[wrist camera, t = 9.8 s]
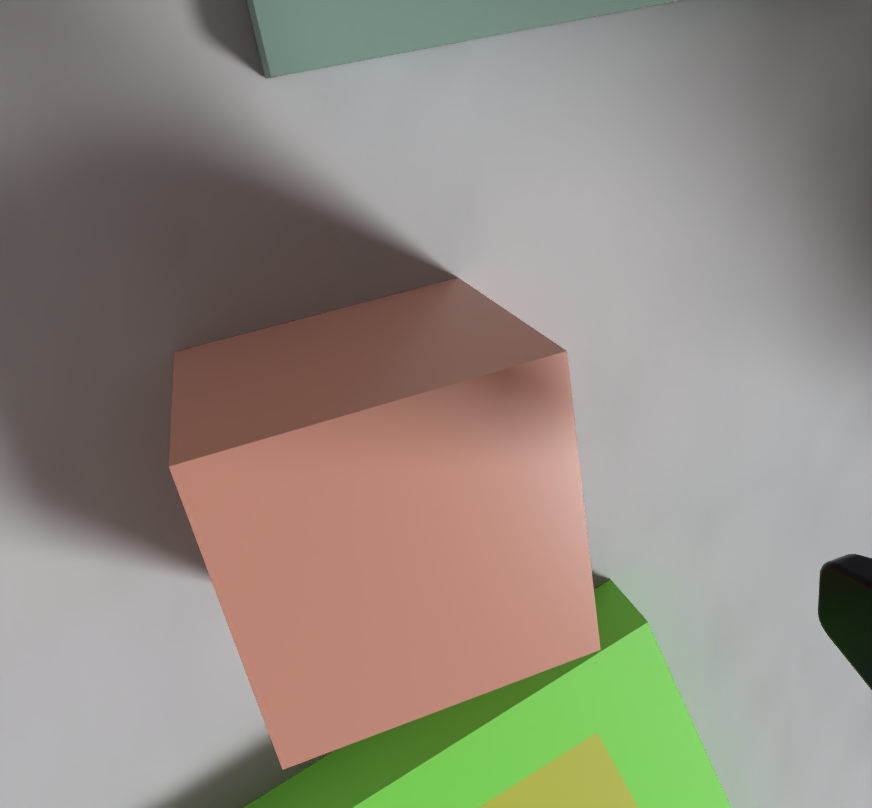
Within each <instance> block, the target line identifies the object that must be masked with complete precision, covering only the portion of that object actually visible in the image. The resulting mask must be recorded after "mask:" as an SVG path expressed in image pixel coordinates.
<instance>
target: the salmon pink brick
mask: <svg viewBox="0 0 872 808" xmlns="http://www.w3.org/2000/svg"><path fill="white" fill-rule="evenodd" d="M169 469H170V471H171V474H172V477H173V479H174V482H175V485H176V487H177V490H178V493H179V495H180V498H181V501H182V503H183V506H184V509H185V511H186V514H187V517H188V519H189V522H190V525H191V527H192V530H193V533H194V535H195V538H196V541H197V543H198V546H199V549H200V551H201V554H202V557H203V559H204V562H205V565H206V567H207V570H208V573H209V575H210V578H211V581H212V583H213V586H214V589H215V591H216V594H217V597H218V599H219V602H220V605H221V607H222V610H223V613H224V615H225V618H226V621H227V623H228V626H229V629H230V631H231V634H232V637H233V639H234V642H235V645H236V647H237V650H238V653H239V655H240V658H241V661H242V663H243V666H244V669H245V671H246V674H247V677H248V679H249V682H250V685H251V687H252V690H253V693H254V695H255V698H256V701H257V703H258V706H259V709H260V711H261V714H262V717H263V719H264V722H265V725H266V727H267V730H268V733H269V735H270V738H271V741H272V743H273V746H274V749H275V751H276V754H277V757H278V759H279V762H280V765H281V767H282V770H284V769H286V768H289V767H292V766H294V765H297V764H300V763H302V762H305V761H307V760H310V759H313V758H315V757H318V756H321V755H323V754H326V753H329V752H331V751H334V750H337V749H339V748H342V747H345V746H347V745H350V744H352V743H355V742H358V741H360V740H363V739H366V738H368V737H371V736H374V735H376V734H379V733H382V732H384V731H387V730H390V729H392V728H395V727H397V726H400V725H403V724H405V723H408V722H411V721H413V720H416V719H419V718H421V717H424V716H427V715H429V714H432V713H435V712H437V711H440V710H442V709H445V708H448V707H450V706H453V705H456V704H458V703H461V702H464V701H466V700H469V699H472V698H474V697H477V696H480V695H482V694H485V693H487V692H490V691H493V690H495V689H498V688H501V687H503V686H506V685H509V684H511V683H514V682H517V681H519V680H522V679H525V678H527V677H530V676H532V675H535V674H538V673H540V672H543V671H546V670H548V669H551V668H554V667H556V666H559V665H562V664H564V663H567V662H570V661H572V660H575V659H577V658H580V657H583V656H585V655H588V654H591V653H593V652H596V651H599V650H601V649H600V640H599V631H598V622H597V613H596V605H595V596H594V587H593V578H592V569H591V561H590V552H589V543H588V534H587V525H586V516H585V508H584V499H583V490H582V481H581V472H580V464H579V455H578V446H577V437H576V428H575V419H574V411H573V402H572V393H571V384H570V375H569V366H568V358H567V351H566V350H564V349H563V348H561V347H560V346H559V345H557V344H556V343H554V342H553V341H551V340H550V339H548V338H547V337H545V336H544V335H542V334H541V333H539V332H538V331H536V330H535V329H533V328H532V327H530V326H529V325H527V324H526V323H524V322H523V321H521V320H520V319H518V318H517V317H516V316H514V315H513V314H511V313H510V312H508V311H507V310H505V309H504V308H502V307H501V306H499V305H498V304H496V303H495V302H493V301H492V300H490V299H489V298H487V297H486V296H484V295H483V294H481V293H480V292H478V291H477V290H476V289H474V288H473V287H471V286H470V285H468V284H467V283H465V282H464V281H462V280H461V279H459V278H455V279H451V280H447V281H443V282H440V283H436V284H432V285H428V286H424V287H421V288H417V289H413V290H409V291H405V292H401V293H398V294H394V295H390V296H386V297H382V298H379V299H375V300H371V301H367V302H363V303H360V304H356V305H352V306H348V307H344V308H340V309H337V310H333V311H329V312H325V313H321V314H318V315H314V316H310V317H306V318H302V319H299V320H295V321H291V322H287V323H283V324H280V325H276V326H272V327H268V328H264V329H260V330H257V331H253V332H249V333H245V334H241V335H238V336H234V337H230V338H226V339H222V340H219V341H215V342H211V343H207V344H203V345H199V346H196V347H192V348H188V349H184V350H180V351H177V352H174V364H173V385H172V406H171V428H170V449H169Z"/></svg>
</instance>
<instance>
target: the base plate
mask: <svg viewBox="0 0 872 808" xmlns="http://www.w3.org/2000/svg"><path fill="white" fill-rule="evenodd" d="M246 1H247V5H248V9H249V14H250V18H251V22H252V26H253V30H254V34H255V38H256V42H257V46H258V50H259V54H260V59H261V63H262V67H263V71H264V75H265V79H266V78H271V77H276V76H282V75H287V74H292V73H298V72H303V71H308V70H313V69H319V68H324V67H329V66H335V65H340V64H345V63H351V62H356V61H361V60H367V59H372V58H377V57H382V56H388V55H393V54H398V53H404V52H409V51H414V50H420V49H425V48H430V47H436V46H441V45H446V44H452V43H457V42H462V41H467V40H473V39H478V38H483V37H489V36H494V35H499V34H505V33H510V32H515V31H521V30H526V29H531V28H536V27H542V26H547V25H552V24H558V23H563V22H568V21H574V20H579V19H584V18H590V17H595V16H600V15H605V14H611V13H616V12H621V11H627V10H632V9H637V8H643V7H648V6H653V5H659V4H664V3H669V2H674V1H680V0H246Z"/></svg>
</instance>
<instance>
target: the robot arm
mask: <svg viewBox="0 0 872 808" xmlns="http://www.w3.org/2000/svg"><path fill="white" fill-rule="evenodd" d="M818 615H819V620H820V622H821V625H822V627H823V629H824V631H825V632H826V633H827V635H828V636H829V637H830V639H831V640H832V641H833V642H834V644H835V645H836V646H837V647H838V649H839V650H840V651H841V652H842V654H843V655H844V656H845V657H846V659H847V660H848V661H849V662H850V664H851V665H852V666H853V667H854V669H855V670H856V671H857V672H858V673H859V675H860V676H861V677H862V678H863V680H864V681H865V682H866V683H867V685H868V686H869V687H870V688H871V690H872V558H868V557H865V556H861V555H857V554H849V555H845V556H842V557H840V558H837V559H834V560H832V561H829V562H827V563H825V564H824V565H823V566H822V568H821V570H820V581H819V601H818Z"/></svg>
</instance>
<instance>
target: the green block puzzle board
mask: <svg viewBox="0 0 872 808" xmlns="http://www.w3.org/2000/svg"><path fill="white" fill-rule="evenodd" d="M594 596H595V605H596V613H597V622H598V631H599V640H600V649H601V650H599V651H596V652H593V653H591V654H588V655H585V656H583V657H580V658H577V659H575V660H572V661H570V662H567V663H564V664H562V665H559V666H556V667H554V668H551V669H548V670H546V671H543V672H540V673H538V674H535V675H532V676H530V677H527V678H525V679H522V680H519V681H517V682H514V683H511V684H509V685H506V686H503V687H501V688H498V689H495V690H493V691H490V692H487V693H485V694H482V695H480V696H477V697H474V698H472V699H469V700H466V701H464V702H461V703H458V704H456V705H453V706H450V707H448V708H445V709H442V710H440V711H437V712H435V713H432V714H429V715H427V716H424V717H421V718H419V719H416V720H413V721H411V722H408V723H405V724H403V725H400V726H397V727H395V728H392V729H390V730H387V731H384V732H382V733H379V734H376V735H374V736H371V737H368V738H366V739H363V740H360V741H358V742H355V743H352V744H350V745H347V746H345V747H342V748H339V749H337V750H335V751H333V752H332V753H330V754H328V755H327V756H325V757H324V758H322V759H320V760H319V761H317V762H316V763H314V764H312V765H311V766H309V767H308V768H306V769H304V770H303V771H301V772H300V773H298V774H296V775H295V776H293V777H291V778H290V779H288V780H287V781H285V782H283V783H282V784H280V785H279V786H277V787H275V788H274V789H272V790H271V791H269V792H267V793H266V794H264V795H263V796H261V797H259V798H258V799H256V800H255V801H253V802H251V803H250V804H248V805H246V806H245V807H243V808H731V806H730V804H729V802H728V799H727V797H726V795H725V793H724V790H723V788H722V786H721V784H720V782H719V779H718V777H717V775H716V773H715V770H714V768H713V766H712V764H711V762H710V759H709V757H708V755H707V753H706V750H705V748H704V746H703V744H702V741H701V739H700V737H699V735H698V733H697V730H696V728H695V726H694V724H693V721H692V719H691V717H690V715H689V713H688V710H687V708H686V706H685V704H684V701H683V699H682V697H681V695H680V692H679V690H678V688H677V686H676V684H675V681H674V679H673V677H672V675H671V672H670V670H669V668H668V666H667V664H666V661H665V659H664V657H663V655H662V652H661V650H660V648H659V646H658V644H657V641H656V639H655V637H654V635H653V632H652V630H651V628H650V626H649V623H648V622H647V621H646V619H645V618H644V617H643V616H642V615H641V614H640V612H639V611H638V610H637V609H636V608H635V607H634V606H633V604H632V603H631V602H630V601H629V600H628V599H627V598H626V596H625V595H624V594H623V593H622V592H621V591H620V590H619V588H618V587H617V586H616V585H615V584H614V583H613V582H612V580H611V579H610V580H608V581H606V582H605V583H603V584H602V585H600V586H598V587H597V588H595V589H594Z"/></svg>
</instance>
